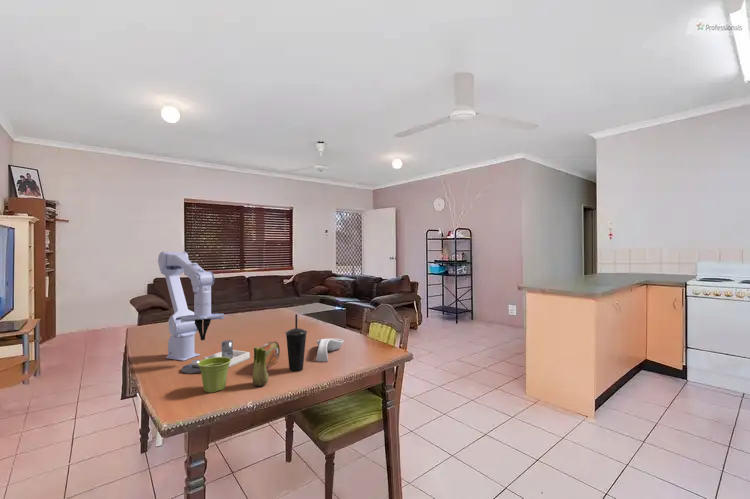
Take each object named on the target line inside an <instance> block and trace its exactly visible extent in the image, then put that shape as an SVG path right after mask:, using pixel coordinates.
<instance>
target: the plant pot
mask: <svg viewBox="0 0 750 499" xmlns="http://www.w3.org/2000/svg"><path fill="white" fill-rule="evenodd" d="M230 362H231V359H230V358H227V357H213V358H208V359H204V360H203V359H202V360H200V362H198V365H199V366H200V370H201V372H200V373H201V380H202V384H203V391H205V393H215V392H218V391H224V389H225V388H226V384H227V378H228V372H229V368H230V367H229V364H230ZM228 367H229V368H228Z"/></svg>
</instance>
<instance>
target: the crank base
mask: <svg viewBox="0 0 750 499" xmlns="http://www.w3.org/2000/svg"><path fill="white" fill-rule="evenodd" d="M181 373H183V374H185V375H188V374H189V375H193V374H194V375H195V374H200V373H201V370H200V367H192V363H188V364H186V365H184V366H182V367H181Z"/></svg>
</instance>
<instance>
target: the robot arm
mask: <svg viewBox="0 0 750 499" xmlns="http://www.w3.org/2000/svg"><path fill="white" fill-rule="evenodd" d="M157 264H158V267H159V271H160V274H162V275H163V276H164V277H165V281H166V285H167V289H168V293H169V297H170V301H171V306H172V310H173V312H174V313H173V314H172V315H171V316H169V318H168V321H167V322H168V331H169V334H170V335H171V336H170V337H169V339H168V342H167V356H166V358H165V359H171V360H174V361H175V360H176V361H186V360H190V359H193V358H196V357H198V356H200V354H201V353H196V352H195V335H196V334H197V332H198V333H199V337H200V341H205V340H206V335H207V331H208V328H209V326H210V324H211V323H212V322H211V321H212V320H224V319H225V317H224V316H225V314H224V313H212V286H213V285H214V284H215V274H214V273H213V272H212V271H211V270H204V268H202V267H201V266H200V265H199V264H198V263H197V262H192V261H191V260H190V259H189V254H188V253H187V252H186V251H185V250H184V251H161V252H159V253H158V259H157ZM183 273H184V274H185V276H186V277H188V278H189V280H190V283H191V286H192V292H193V294H194V296H193V297H194V300H193V303H194V309H193V310H194V311H192V310H190V309H188V304H187V300H186V296H185V293H184V289H183V285H182V282H181V278H180V275H182V274H183Z"/></svg>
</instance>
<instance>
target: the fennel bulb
mask: <svg viewBox="0 0 750 499" xmlns="http://www.w3.org/2000/svg"><path fill="white" fill-rule="evenodd" d="M265 355H266V350H265V349H263V347H262V348H259V347H258V346H254V347H253V368H252V383H253V386H255V387H262V386H265V385H267V383H268V382H269V373H268V371H267V370H268V369H267V370H266V363H265Z"/></svg>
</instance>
